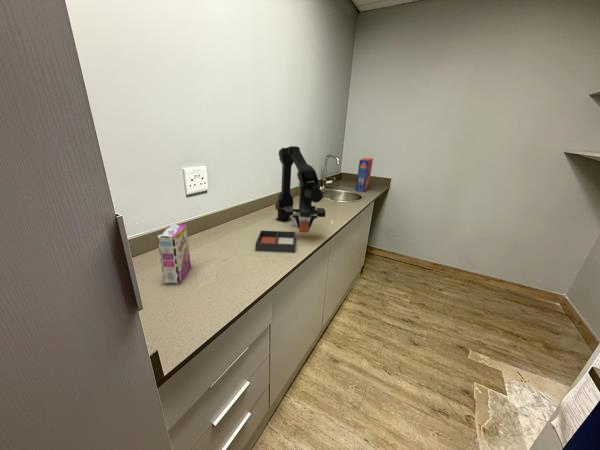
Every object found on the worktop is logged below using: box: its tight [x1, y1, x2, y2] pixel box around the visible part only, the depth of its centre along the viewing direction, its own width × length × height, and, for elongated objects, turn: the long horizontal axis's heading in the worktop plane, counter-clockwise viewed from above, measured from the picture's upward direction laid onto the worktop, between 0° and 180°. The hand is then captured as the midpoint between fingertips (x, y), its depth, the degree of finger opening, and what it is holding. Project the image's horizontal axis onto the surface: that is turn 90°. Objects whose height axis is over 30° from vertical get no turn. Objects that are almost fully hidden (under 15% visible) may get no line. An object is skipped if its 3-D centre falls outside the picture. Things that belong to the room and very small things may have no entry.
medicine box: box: [292, 213, 310, 227], centre depth 130 cm, size 8×4×9 cm, turn 71°
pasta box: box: [355, 157, 374, 193], centre depth 231 cm, size 28×8×28 cm, turn 157°
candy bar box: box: [156, 223, 192, 285], centre depth 79 cm, size 11×5×16 cm, turn 5°
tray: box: [255, 229, 296, 253], centre depth 107 cm, size 16×14×4 cm
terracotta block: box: [298, 220, 310, 234], centre depth 115 cm, size 4×4×4 cm
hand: (303, 228), depth 115 cm, fingers closed on terracotta block, 4 cm apart
